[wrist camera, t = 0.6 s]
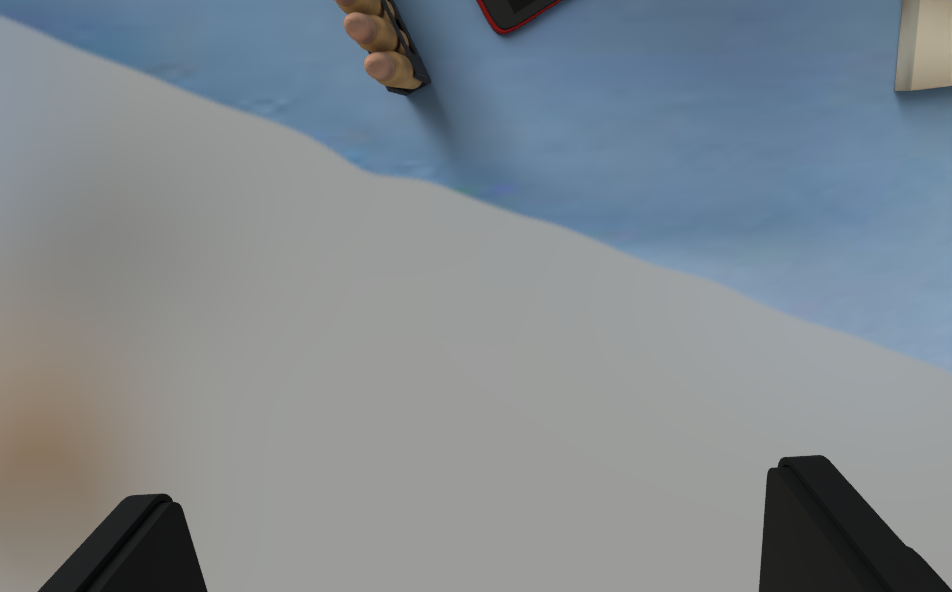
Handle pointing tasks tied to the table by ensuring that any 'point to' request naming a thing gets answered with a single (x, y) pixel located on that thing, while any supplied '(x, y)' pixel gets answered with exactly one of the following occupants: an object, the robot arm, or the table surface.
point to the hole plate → (924, 45)
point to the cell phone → (512, 12)
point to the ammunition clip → (385, 44)
